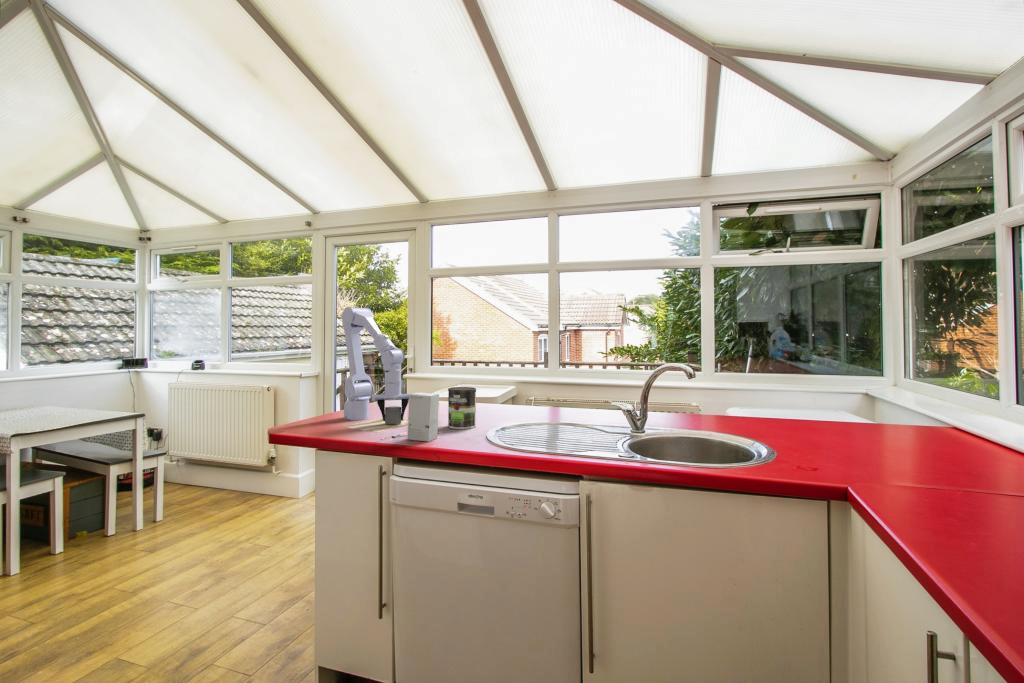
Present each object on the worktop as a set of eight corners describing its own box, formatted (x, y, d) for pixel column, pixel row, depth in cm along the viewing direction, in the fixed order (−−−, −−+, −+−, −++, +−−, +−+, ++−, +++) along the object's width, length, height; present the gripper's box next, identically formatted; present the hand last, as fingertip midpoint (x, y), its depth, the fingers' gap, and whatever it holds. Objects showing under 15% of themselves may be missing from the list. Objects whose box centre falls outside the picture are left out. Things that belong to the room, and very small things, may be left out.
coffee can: (469, 430, 168) (469, 390, 168) (443, 428, 171) (443, 389, 171) (480, 424, 178) (480, 387, 178) (454, 423, 181) (455, 386, 181)
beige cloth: (341, 430, 166) (341, 426, 166) (386, 421, 184) (386, 417, 184) (376, 436, 157) (376, 432, 157) (420, 426, 174) (420, 422, 174)
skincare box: (407, 440, 152) (407, 393, 152) (417, 436, 158) (417, 391, 158) (430, 442, 150) (430, 395, 149) (439, 438, 155) (439, 392, 155)
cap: (384, 424, 167) (385, 408, 167) (385, 421, 173) (385, 406, 173) (401, 423, 169) (401, 408, 169) (400, 421, 174) (401, 406, 174)
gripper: (371, 384, 165) (371, 423, 165) (413, 383, 168) (413, 421, 168) (372, 382, 172) (372, 419, 172) (413, 381, 175) (413, 417, 175)
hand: (393, 420), depth 171 cm, fingers closed on cap, 6 cm apart
